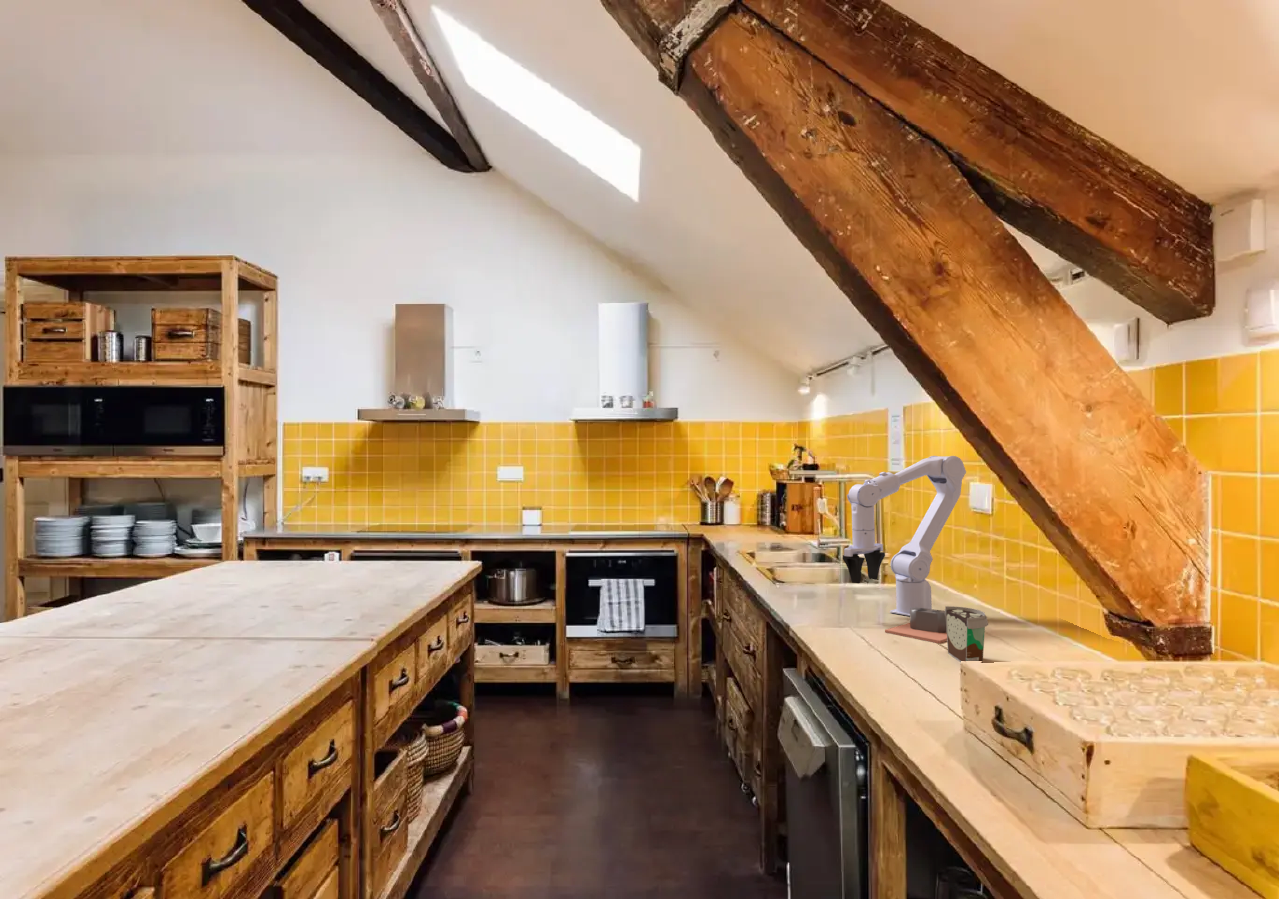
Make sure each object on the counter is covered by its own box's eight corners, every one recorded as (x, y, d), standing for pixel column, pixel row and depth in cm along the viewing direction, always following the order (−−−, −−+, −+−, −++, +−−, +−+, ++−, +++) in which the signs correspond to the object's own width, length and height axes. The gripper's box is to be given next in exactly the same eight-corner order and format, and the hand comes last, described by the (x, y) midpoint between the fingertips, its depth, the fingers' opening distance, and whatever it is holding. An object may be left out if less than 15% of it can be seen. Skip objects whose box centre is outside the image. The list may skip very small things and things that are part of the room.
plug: (913, 625, 183) (913, 607, 183) (956, 630, 176) (956, 612, 176) (908, 628, 180) (907, 610, 180) (952, 634, 173) (951, 615, 173)
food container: (1000, 668, 149) (999, 618, 149) (969, 668, 149) (968, 618, 149) (973, 651, 161) (972, 605, 161) (945, 651, 161) (944, 605, 161)
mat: (920, 621, 189) (920, 619, 189) (974, 631, 178) (974, 629, 178) (884, 632, 179) (884, 629, 179) (939, 643, 168) (939, 640, 168)
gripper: (866, 526, 204) (867, 575, 203) (834, 530, 194) (835, 582, 194) (889, 528, 198) (890, 578, 198) (857, 532, 189) (858, 586, 189)
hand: (864, 581), depth 196 cm, fingers open, 7 cm apart
